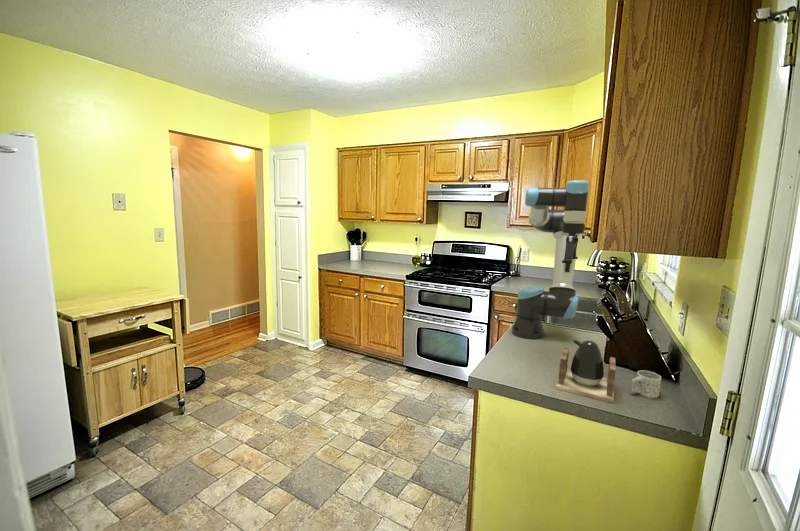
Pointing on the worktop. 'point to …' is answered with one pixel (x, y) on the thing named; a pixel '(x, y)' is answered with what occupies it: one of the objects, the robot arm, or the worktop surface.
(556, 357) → the worktop surface
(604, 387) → the caddy
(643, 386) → the mug
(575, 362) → the pump dispenser
